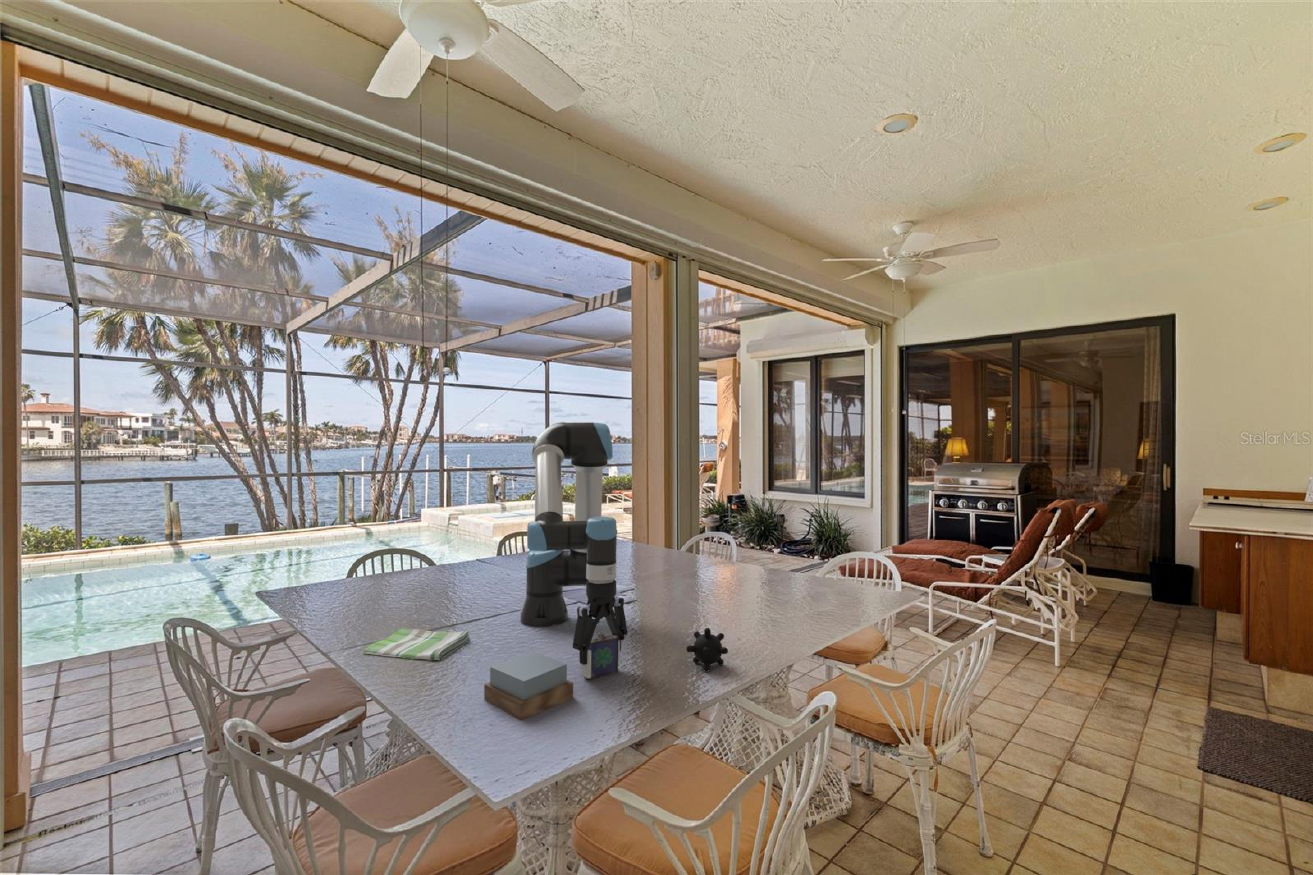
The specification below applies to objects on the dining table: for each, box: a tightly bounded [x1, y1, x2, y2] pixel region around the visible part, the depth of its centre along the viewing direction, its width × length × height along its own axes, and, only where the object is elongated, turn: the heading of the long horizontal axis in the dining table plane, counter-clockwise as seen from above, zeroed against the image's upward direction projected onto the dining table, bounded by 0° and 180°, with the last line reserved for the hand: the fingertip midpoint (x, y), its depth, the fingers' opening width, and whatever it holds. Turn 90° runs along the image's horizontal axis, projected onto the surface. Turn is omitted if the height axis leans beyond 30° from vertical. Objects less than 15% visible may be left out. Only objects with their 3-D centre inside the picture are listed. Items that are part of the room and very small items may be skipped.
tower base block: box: [483, 679, 574, 721], centre depth 127 cm, size 14×14×4 cm
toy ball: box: [686, 627, 729, 672], centre depth 146 cm, size 11×11×12 cm
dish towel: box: [363, 628, 471, 661], centre depth 159 cm, size 17×23×4 cm
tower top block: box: [489, 651, 568, 700], centre depth 127 cm, size 12×12×4 cm
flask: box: [583, 630, 619, 680], centre depth 140 cm, size 9×3×11 cm, turn 121°
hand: (600, 670), depth 140 cm, fingers closed on flask, 9 cm apart
